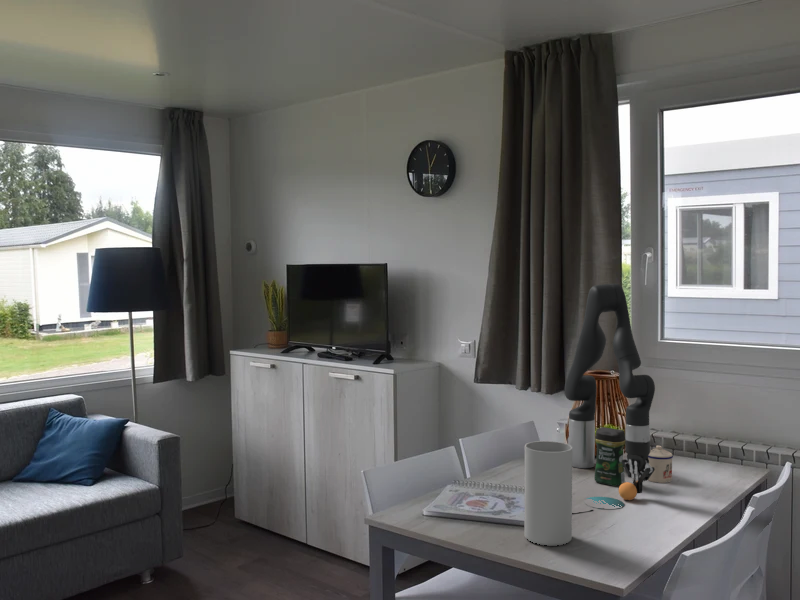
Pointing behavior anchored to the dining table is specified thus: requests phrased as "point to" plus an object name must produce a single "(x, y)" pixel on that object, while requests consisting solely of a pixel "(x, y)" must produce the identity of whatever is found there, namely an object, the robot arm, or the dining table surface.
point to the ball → (627, 491)
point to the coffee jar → (609, 456)
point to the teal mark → (608, 501)
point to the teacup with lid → (660, 465)
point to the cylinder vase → (548, 493)
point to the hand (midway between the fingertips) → (637, 492)
